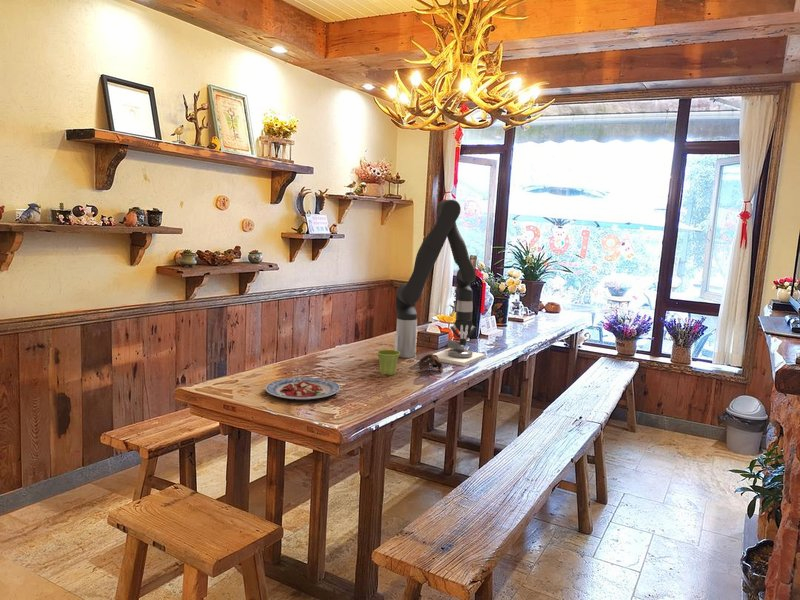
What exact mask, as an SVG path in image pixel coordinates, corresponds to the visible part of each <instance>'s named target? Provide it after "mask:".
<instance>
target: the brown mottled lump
mask: <svg viewBox="0 0 800 600" xmlns="http://www.w3.org/2000/svg"><path fill="white" fill-rule="evenodd" d="M433 354H434V353H429V354H426V355H424V356H422V357H421V358H420V359H419V361H418V362H417V364H418V370H419V371H422V370H424V369H426V368H427V369H430V365H431V367H432V368H435V369H437V370H438V371H440V374H441V375H442V374H443V373H444V370H443V364H442V362H440V360H439V359H438V357H437V355H433ZM428 358H429V359H428Z"/></svg>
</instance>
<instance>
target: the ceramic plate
mask: <svg viewBox="0 0 800 600" xmlns="http://www.w3.org/2000/svg"><path fill="white" fill-rule="evenodd" d="M264 389H265V391H266V392H267V393H268V394H269V395H271V396H275V397H278V398H284V399H289V400H294V399H295V400H296V401H298V400H299V401H304V400H305V401H307V400H316V399H320V398H322V399H323V398H326V397H331V396H332V395H334V394H335V395H336V394H337V393H338V392H339V391H340V389H341V387H340V385H339V384H338V383H337V382H334V381H332V380H328V379H324V378H320V377H305V376H303V377H301V376H300V377H288V378H281V379H277V380H274V381H271V382H269V383H267V385H266V386H265V388H264Z"/></svg>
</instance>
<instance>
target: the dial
mask: <svg viewBox="0 0 800 600" xmlns="http://www.w3.org/2000/svg"><path fill="white" fill-rule="evenodd" d="M447 347H448V348H452V349H451V350H449V351H448V355H449V356H452V357H458V358H468V357H472V353H473V352H474V351H471V350H468V349H465V346H464V345H461V344H459V343H458V341H455V340H453V339H447Z"/></svg>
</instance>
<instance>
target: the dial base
mask: <svg viewBox="0 0 800 600" xmlns="http://www.w3.org/2000/svg"><path fill="white" fill-rule="evenodd" d="M451 349H452V348H450V347H448V348H446V349H444V350H441V351H438V352H435V353H432V354H433V355H437V357H438V359H439V360H440V362H441V363H445V364H451V365H457V366H461V367H465V366H467V365H470V364H472V363H475V362H477V361H480V360H482V359H484V358H486V353H482V352H475V351H472V352H473V353H472V357H468V358H458V357H452V356H449V355H448V351H449V350H451ZM427 360H429V358H428V359H427Z"/></svg>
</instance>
